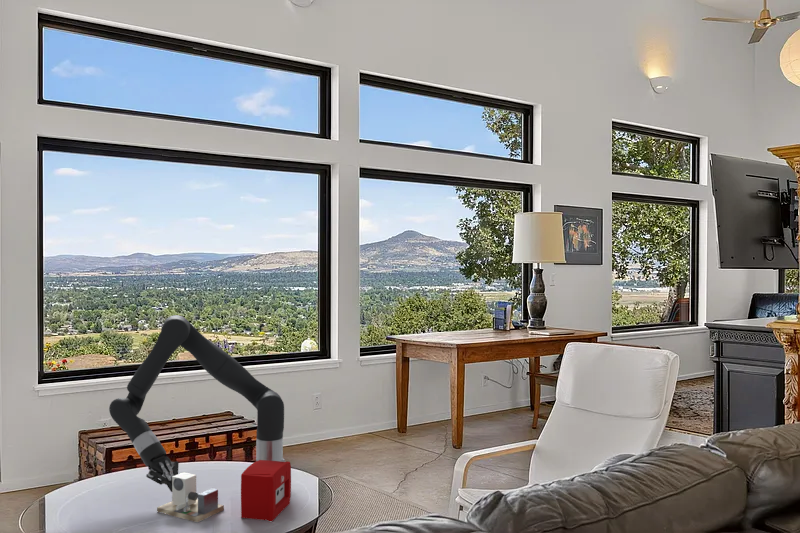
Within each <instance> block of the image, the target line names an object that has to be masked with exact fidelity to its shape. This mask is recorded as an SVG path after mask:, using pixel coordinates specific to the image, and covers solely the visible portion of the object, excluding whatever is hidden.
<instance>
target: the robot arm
mask: <svg viewBox="0 0 800 533" xmlns="http://www.w3.org/2000/svg"><path fill="white" fill-rule="evenodd" d="M161 325H162V326H161V330H160V333H159V335H158V337H157V340H156V342H155V344H154V346H153V347H152V349H151V351H150V352H149V354H148V355H147V356H146V358H145V359H144V360H143V361H142V363H141V364H140V365H139V367H138V368H137V369H136V371H135V372H134V374H133V376H132V377H131V379H130V380H129V382H128V383H127V386H126V390H127V391H128V394H127V396H126V398H125V397H121V398H120V397H119V398H115V399H114V400H112V401H111V402H110V404H109V409H108V410H109V414H110V417H111V418H112V419H113V421H114V422H115V423H116V425H118V426H119V427H120V428H121V430H123V431H124V432H125V433H126V435H127V436H128V438H129V440H130V441H131V443H132V445H133V447H134V449H135V451H136V452H137V454H138V456H139V457H140V458H141V461H142V462H143V464H144V465H145V466H146V467H147V468H148V472H147V474H146V475H145V477H146V478H148V479H150V480H151V481H153V482H155V483H157V484H159V485H161V486H162V485H166V486H167V488H168V489H169V491H170V492H171V493H172V476H175V475H178V474H179V466H180V463H179V462H178V461H177V460H176V461H172V460H171V459H170V457H168V456H167V451H166V450H165V447H164V446H163V445H162V442H161V441H160V440H159V438H158V437H157V436H156V434H155V433H154V432H153V430H152V428H151V427H150V425H149V424H148V423H147V421H146V420H145V419H144V418H141V417H139V416H138V415H139V413H140V412H141V410H142V408H143V406H144V403H145V399H146V397H147V394H148V393H149V391H150V389H151V388H152V386H153V385H154V384H155V382H156V381H157V379H158V377H159V375H160V373H161V371H162V370H163V368H164V367H165V365H166V363H167V362H168V361H169V359H170V357H171V356H172V355H173V354H174V353H175V351H176V350H177V349H179V348H180V347H182V348H184V350H186V351H187V352H188V353H190V354H191V356H193V358H194V359H195V360H196V361H197V362H198V363H199V365H200V366H201V367H202V368H203V369H204V370H205V371H206V372H207V373H208V375H210V376H212V378H214V379H215V380H216V381H218V382H219V383H220V384H222V385H223V386H224V387H227V388H228V389H230V390H232V391H233V392H236V393H238V394H240V395H241V396H243V397H244V398H245V399H246V400H247V401H248V402H249V403H251V405H252V406H254V408H255V409H256V410H257V412H256V413H257V414H256V416H257V420H256V421H257V422H256V423H257V424H256V425H257V427H256V434H255V435H256V437H255V438H256V443H255V444H256V445H255V446H256V448H255V449H256V452H255V453H256V454H255V455H256V456H255V458H256V459H255V462H256V461H258V460H268V461H280V462H286V459H285V458H284V454H283V453H284V452H283V451H284V442H283V440H284V439H283V438H284V430H285V404H284V401H283V399H282V397H281V396H280V394H279V393H277V392H276V391H274V390H273V389H272V388H270V387H268V386H266V385H265V384H263V383H262V382H260V381H259V380H257V379H256V377H254V376H253V375H252V374H251V373H250V372H249V370H248V369H246V368H245V367H244V366H243V365H242V364H241V363H240V362H239V361H237V360H236V358H234V357H233V356H232V355H230V354H229V353H228V352H226V351H225V350H223V349H222V348H220V347H219V346H218V345H216V344H215V343H214V342H212V341H211V340H209V339H208V338H206V337H205V336H204V335H203V334H202V333H201V332H200V331H198V330H197V328H196V327H194V325H193V324H191V322H190V321H189V320H188V319H187V318H186V317H184V316H182V315H178V314H177V315H176V314H175V315H171V316H170V315H169V316H168V317H167V318H165V320H164V321H163V323H162V324H161Z"/></svg>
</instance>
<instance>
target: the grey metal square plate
mask: <svg viewBox="0 0 800 533" xmlns="http://www.w3.org/2000/svg"><path fill="white" fill-rule="evenodd" d="M197 499H198V513H201V514H206V513H209V512H211V511H213V510H215V509H217V508H218V504H219V489H217V488H214V487H212V488H209V489H207V490H204V491H202V492H200V493H198V498H197Z"/></svg>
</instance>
